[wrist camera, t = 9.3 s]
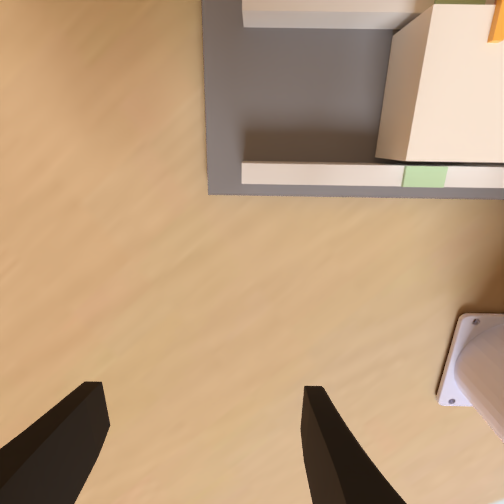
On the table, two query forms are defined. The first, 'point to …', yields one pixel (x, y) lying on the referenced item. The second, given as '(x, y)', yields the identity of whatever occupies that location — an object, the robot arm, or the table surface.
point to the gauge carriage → (446, 87)
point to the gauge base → (315, 102)
